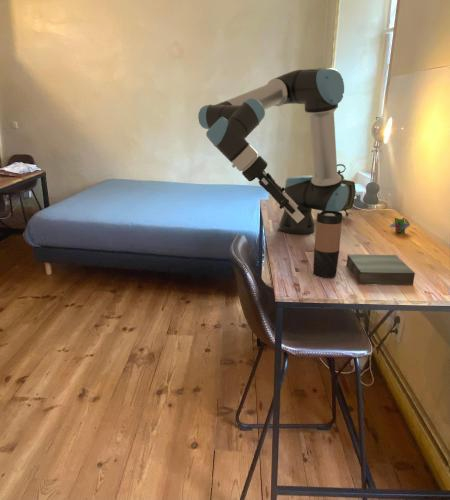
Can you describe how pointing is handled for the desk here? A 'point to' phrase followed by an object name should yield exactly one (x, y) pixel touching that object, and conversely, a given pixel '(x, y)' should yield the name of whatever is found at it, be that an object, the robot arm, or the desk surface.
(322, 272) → the travel mug
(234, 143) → the robot arm
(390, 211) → the desk surface
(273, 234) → the desk surface
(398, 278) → the stand
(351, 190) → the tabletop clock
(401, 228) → the geometric puzzle
